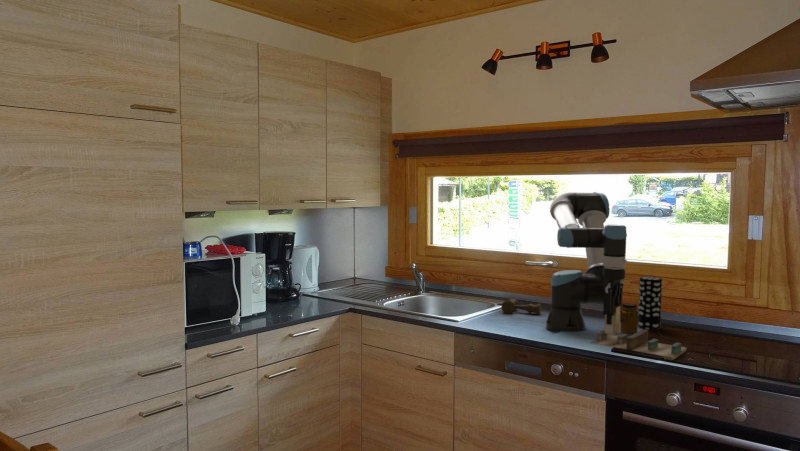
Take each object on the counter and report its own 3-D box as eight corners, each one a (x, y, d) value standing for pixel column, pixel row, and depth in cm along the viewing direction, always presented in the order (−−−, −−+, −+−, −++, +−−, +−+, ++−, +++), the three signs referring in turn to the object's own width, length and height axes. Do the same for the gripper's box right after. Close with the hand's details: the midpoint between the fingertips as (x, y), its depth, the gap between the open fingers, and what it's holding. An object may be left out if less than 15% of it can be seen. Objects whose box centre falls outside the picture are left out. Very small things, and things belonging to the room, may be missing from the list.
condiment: (616, 332, 226) (617, 302, 225) (639, 333, 225) (640, 302, 224) (623, 337, 218) (623, 306, 218) (645, 337, 218) (646, 306, 217)
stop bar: (604, 333, 210) (605, 306, 209) (608, 331, 213) (609, 304, 212) (615, 335, 207) (616, 307, 206) (619, 333, 210) (620, 305, 209)
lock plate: (589, 345, 207) (589, 331, 206) (606, 336, 219) (607, 323, 219) (673, 360, 189) (673, 345, 188) (686, 350, 201) (687, 336, 200)
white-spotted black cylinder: (662, 326, 236) (663, 277, 235) (658, 330, 229) (660, 280, 228) (640, 324, 240) (641, 276, 239) (636, 327, 234) (637, 278, 232)
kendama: (537, 318, 254) (493, 312, 262) (542, 314, 262) (499, 309, 271) (538, 304, 253) (494, 299, 262) (543, 301, 262) (499, 296, 270)
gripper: (615, 271, 199) (613, 338, 201) (632, 266, 212) (630, 328, 214) (594, 269, 204) (592, 334, 206) (612, 264, 217) (610, 325, 219)
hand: (612, 331), depth 210 cm, fingers closed on stop bar, 4 cm apart
